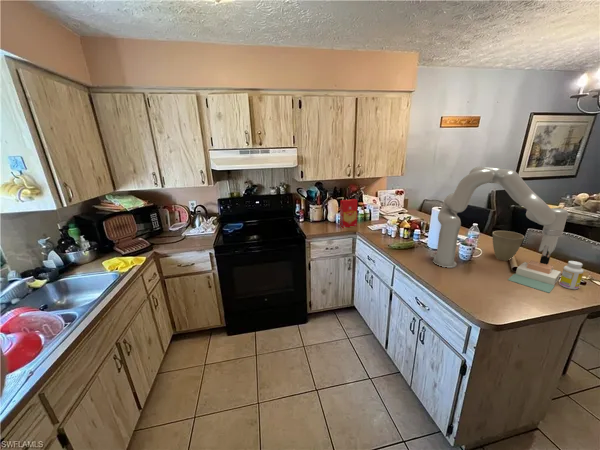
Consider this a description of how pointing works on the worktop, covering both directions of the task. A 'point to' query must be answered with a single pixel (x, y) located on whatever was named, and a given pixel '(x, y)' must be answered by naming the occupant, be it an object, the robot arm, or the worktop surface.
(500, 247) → the plant pot
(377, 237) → the worktop surface
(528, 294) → the worktop surface
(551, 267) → the tile
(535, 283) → the mat
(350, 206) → the food packaging
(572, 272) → the supplement bottle
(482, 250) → the worktop surface
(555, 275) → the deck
